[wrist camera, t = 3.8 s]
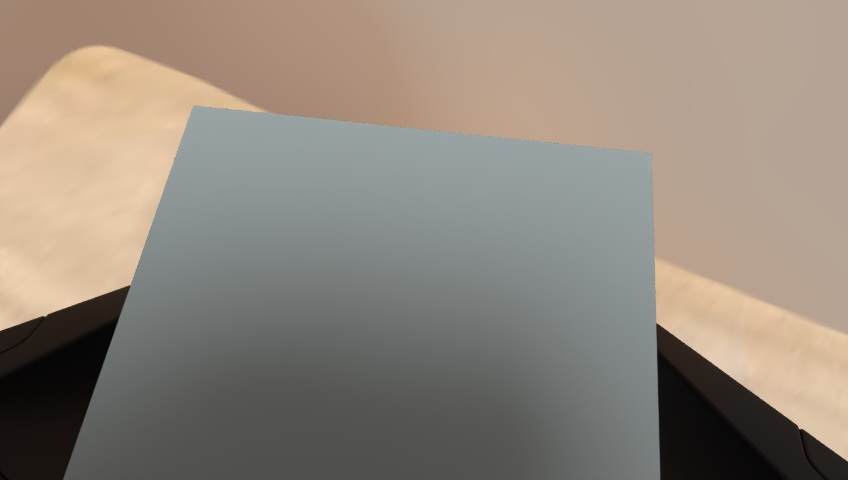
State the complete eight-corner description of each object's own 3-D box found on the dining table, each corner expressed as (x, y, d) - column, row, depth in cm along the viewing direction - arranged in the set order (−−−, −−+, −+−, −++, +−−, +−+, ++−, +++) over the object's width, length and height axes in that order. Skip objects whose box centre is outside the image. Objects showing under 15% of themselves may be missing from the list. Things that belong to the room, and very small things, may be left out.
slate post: (477, 423, 14) (670, 814, 2) (351, 402, 14) (-2, 662, 3) (489, 293, 15) (652, 152, 4) (372, 278, 16) (193, 106, 4)
